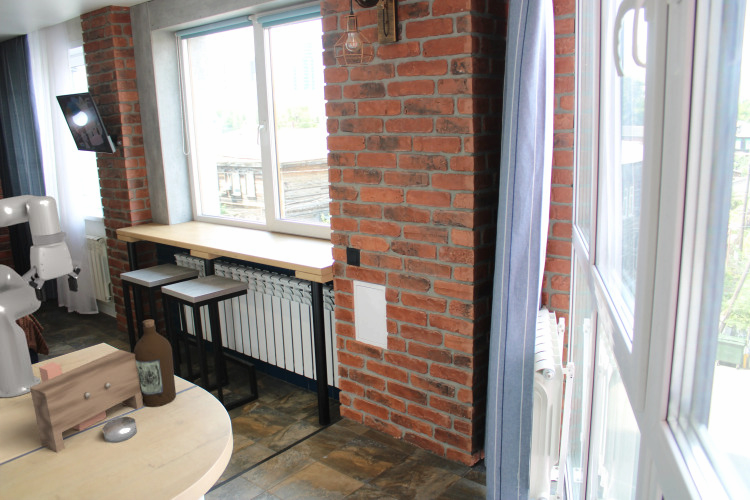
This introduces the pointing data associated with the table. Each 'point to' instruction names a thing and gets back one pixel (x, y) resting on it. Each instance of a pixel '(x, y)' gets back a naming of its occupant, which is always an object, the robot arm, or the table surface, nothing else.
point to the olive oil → (155, 367)
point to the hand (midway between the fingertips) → (58, 295)
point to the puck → (119, 429)
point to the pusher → (55, 370)
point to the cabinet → (84, 395)
